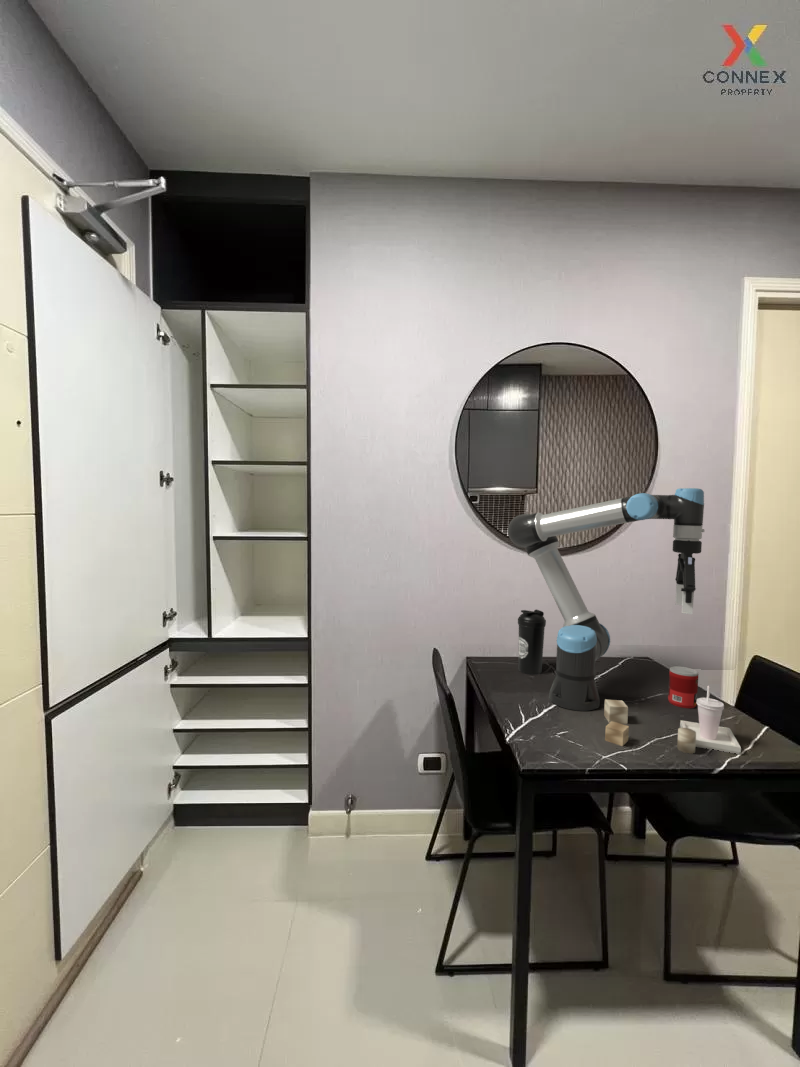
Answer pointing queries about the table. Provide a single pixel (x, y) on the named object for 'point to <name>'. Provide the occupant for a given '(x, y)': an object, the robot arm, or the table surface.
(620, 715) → the birch cube
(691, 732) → the birch dowel
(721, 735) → the tray
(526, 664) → the water bottle
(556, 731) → the table surface
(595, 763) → the table surface
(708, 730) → the smoothie
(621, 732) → the oak block
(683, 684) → the canned food
